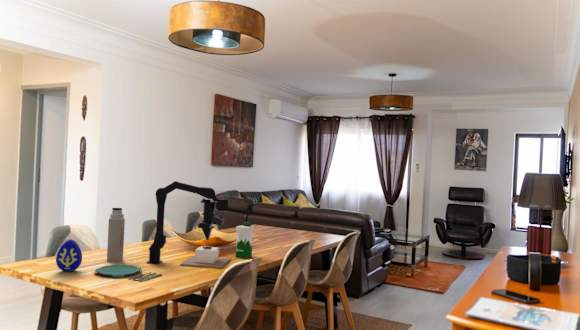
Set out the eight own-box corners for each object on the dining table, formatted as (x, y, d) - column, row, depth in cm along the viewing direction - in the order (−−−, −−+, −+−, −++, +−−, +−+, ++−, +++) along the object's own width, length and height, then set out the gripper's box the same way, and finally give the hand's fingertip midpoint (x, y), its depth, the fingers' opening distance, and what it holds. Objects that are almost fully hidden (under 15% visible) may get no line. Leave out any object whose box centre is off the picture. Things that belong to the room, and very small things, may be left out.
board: (221, 268, 241) (221, 266, 241) (180, 265, 244) (180, 263, 244) (230, 260, 263) (230, 258, 263) (192, 257, 266) (192, 255, 266)
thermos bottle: (125, 259, 251) (128, 207, 251) (117, 262, 243) (120, 209, 243) (112, 258, 253) (114, 206, 253) (103, 261, 245) (106, 208, 245)
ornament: (53, 273, 215) (55, 241, 215) (58, 269, 224) (59, 237, 224) (79, 273, 218) (81, 241, 218) (83, 268, 227) (84, 237, 227)
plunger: (209, 261, 251) (210, 247, 251) (201, 260, 251) (201, 246, 251) (211, 259, 256) (212, 246, 256) (203, 258, 256) (204, 245, 256)
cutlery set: (118, 266, 235) (118, 262, 235) (165, 276, 223) (165, 271, 223) (86, 274, 217) (86, 269, 217) (135, 285, 205) (135, 280, 205)
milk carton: (253, 256, 276) (255, 222, 276) (245, 259, 268) (247, 224, 268) (241, 254, 280) (243, 221, 280) (232, 257, 272) (234, 222, 272)
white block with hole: (213, 263, 248) (213, 250, 248) (194, 262, 249) (195, 249, 249) (217, 259, 258) (218, 247, 258) (200, 258, 259) (200, 246, 259)
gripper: (219, 213, 243) (217, 243, 243) (227, 210, 262) (226, 238, 262) (198, 212, 244) (196, 242, 244) (208, 209, 263) (206, 236, 263)
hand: (207, 239), depth 253 cm, fingers closed
